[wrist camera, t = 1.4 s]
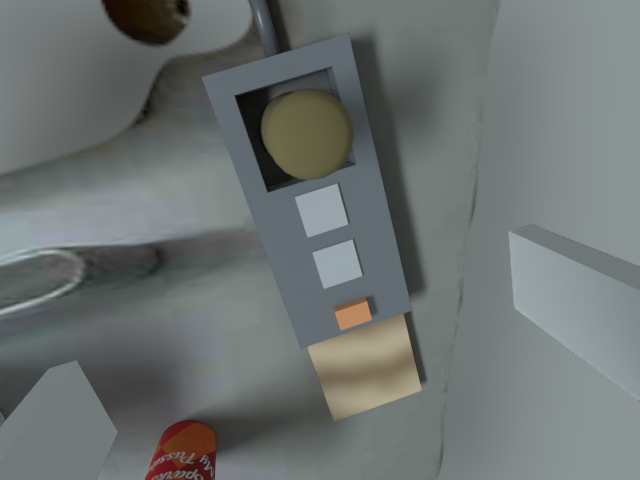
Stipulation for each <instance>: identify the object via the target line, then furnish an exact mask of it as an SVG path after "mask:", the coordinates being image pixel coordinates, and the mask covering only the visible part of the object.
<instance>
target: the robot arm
mask: <svg viewBox="0 0 640 480" xmlns="http://www.w3.org/2000/svg"><path fill="white" fill-rule="evenodd" d="M509 244H510V257H511V271H512V284H513V297H514V308H515V309H517V310H518V311H519V312H521V313H522V314H523V315H525V316H526V317H527V318H529V319H530V320H531V321H533V322H534V323H535V324H537V325H538V326H539V327H541V328H542V329H543V330H545V331H546V332H548V333H549V334H550V335H552V336H553V337H554V338H556V339H557V340H558V341H560V342H561V343H562V344H564V345H565V346H567V347H568V348H569V349H570V350H572V351H573V352H574V353H576V354H577V355H578V356H580V357H581V358H583V359H584V360H585V361H587V362H588V363H589V364H591V365H592V366H594V367H595V368H596V369H597V370H599V371H600V372H601V373H603V374H604V375H605V376H607V377H608V378H609V379H611V380H612V381H613V382H615V383H616V384H617V385H619V386H620V387H622V388H623V389H624V390H626V391H627V392H628V393H630V394H631V395H632V396H634V397H635V398H636V399H638V400H639V401H640V266H638V265H635V264H632V263H629V262H627V261H625V260H622V259H619V258H617V257H614V256H612V255H609V254H607V253H604V252H602V251H599V250H597V249H594V248H592V247H589V246H586V245H584V244H581V243H579V242H576V241H574V240H571V239H568V238H566V237H563V236H561V235H558V234H555V233H553V232H550V231H548V230H545V229H543V228H540V227H538V226H535V225H533V224H530V225H527V226H524V227H520V228H517V229H514V230H511V231H509ZM117 433H118V432H117V430H116V428H115V426H114V425H113V423H112V421H111V419H110V418H109V416H108V414H107V412H106V411H105V409H104V407H103V406H102V404H101V402H100V400H99V399H98V397H97V395H96V393H95V392H94V390H93V388H92V386H91V385H90V383H89V381H88V379H87V378H86V376H85V374H84V372H83V371H82V369H81V367H80V365H79V364H78V362H77V360H75V361H72V362H68V363H65V364H62V365H58V366H55V367H52V368H49V369H48V370H47V371H46V372H45V374H44V375H43V376H42V377H41V378H40V380H39V381H38V382H37V383H36V384H35V386H34V387H33V388H32V389H31V390H30V392H29V393H28V394H27V395H26V396H25V398H24V399H23V400H22V401H21V403H20V404H19V405H18V406H17V407H16V409H15V410H14V411H13V412H12V413H11V415H10V416H9V417H8V418H7V419H6V421H5V422H4V423H3V424H2V425H1V427H0V480H97V479H98V476H99V474H100V472H101V469H102V467H103V465H104V463H105V460H106V458H107V456H108V454H109V451H110V449H111V447H112V445H113V442H114V440H115V438H116V436H117Z"/></svg>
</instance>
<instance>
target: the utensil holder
mask: <svg viewBox="0 0 640 480" xmlns="http://www.w3.org/2000/svg"><path fill="white" fill-rule="evenodd" d="M4 422H5V419H4V416H3V414H2V412H1V411H0V427H1V425H2V424H3V423H4Z"/></svg>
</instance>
